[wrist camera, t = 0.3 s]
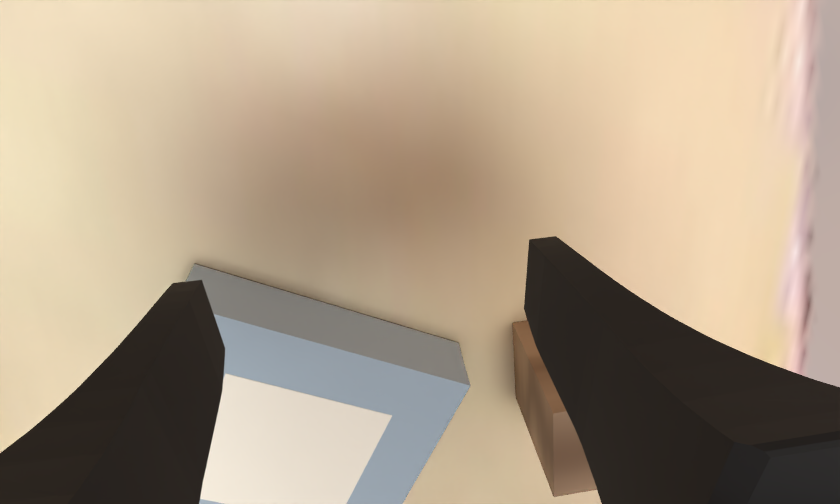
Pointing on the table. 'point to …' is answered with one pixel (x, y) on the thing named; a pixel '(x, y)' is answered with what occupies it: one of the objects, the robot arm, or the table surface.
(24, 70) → the table surface
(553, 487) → the walnut block
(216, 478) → the slate plinth
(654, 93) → the table surface
